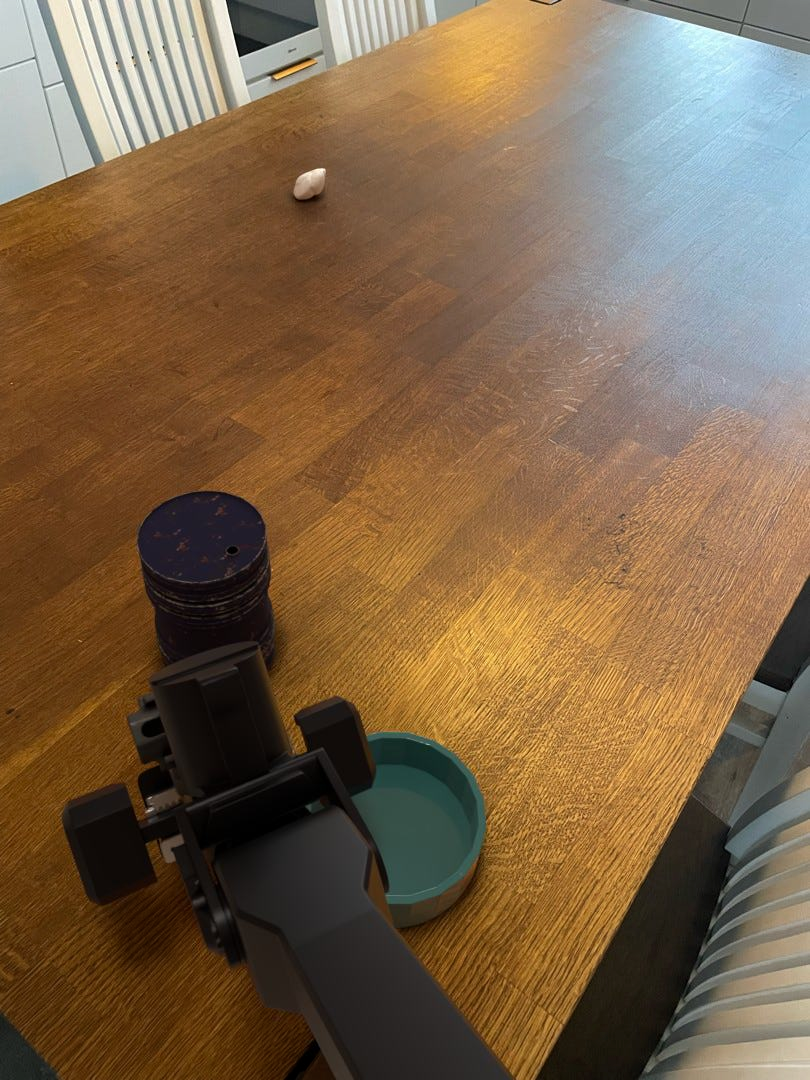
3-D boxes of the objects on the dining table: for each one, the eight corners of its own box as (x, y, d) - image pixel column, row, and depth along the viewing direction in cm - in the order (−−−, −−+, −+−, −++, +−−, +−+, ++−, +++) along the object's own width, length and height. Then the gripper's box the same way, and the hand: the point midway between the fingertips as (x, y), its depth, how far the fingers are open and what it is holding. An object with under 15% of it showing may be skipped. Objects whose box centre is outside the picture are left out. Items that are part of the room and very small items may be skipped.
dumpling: (324, 207, 136) (318, 184, 132) (292, 209, 137) (285, 186, 134) (333, 179, 139) (327, 156, 136) (302, 181, 141) (295, 158, 137)
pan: (484, 929, 63) (493, 904, 60) (298, 928, 62) (296, 903, 59) (471, 762, 72) (478, 733, 69) (308, 759, 72) (308, 729, 68)
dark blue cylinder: (137, 663, 77) (106, 546, 66) (211, 591, 83) (193, 472, 72) (229, 718, 74) (212, 605, 63) (298, 638, 80) (294, 522, 69)
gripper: (363, 633, 51) (294, 614, 66) (28, 757, 45) (33, 706, 59) (416, 811, 52) (337, 754, 67) (97, 958, 46) (86, 859, 60)
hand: (205, 764), depth 63 cm, fingers closed on fennel bulb, 2 cm apart
